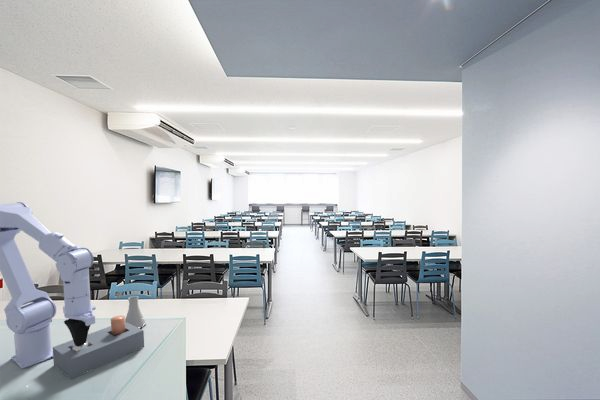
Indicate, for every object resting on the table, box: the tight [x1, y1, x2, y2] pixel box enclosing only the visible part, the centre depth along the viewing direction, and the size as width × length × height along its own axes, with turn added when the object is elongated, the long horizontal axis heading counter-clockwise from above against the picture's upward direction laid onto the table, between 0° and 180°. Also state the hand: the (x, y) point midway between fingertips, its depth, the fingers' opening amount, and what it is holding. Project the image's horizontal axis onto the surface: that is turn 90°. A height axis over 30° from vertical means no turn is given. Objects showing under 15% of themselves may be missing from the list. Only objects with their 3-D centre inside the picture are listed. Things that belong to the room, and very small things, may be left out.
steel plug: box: [72, 341, 89, 352], centre depth 89 cm, size 4×4×4 cm
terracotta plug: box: [110, 315, 126, 336], centre depth 96 cm, size 4×4×4 cm
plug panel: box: [52, 322, 145, 380], centre depth 93 cm, size 11×19×5 cm, turn 145°
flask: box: [125, 295, 146, 327], centre depth 110 cm, size 7×7×10 cm
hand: (80, 344), depth 88 cm, fingers closed, pressing on steel plug
